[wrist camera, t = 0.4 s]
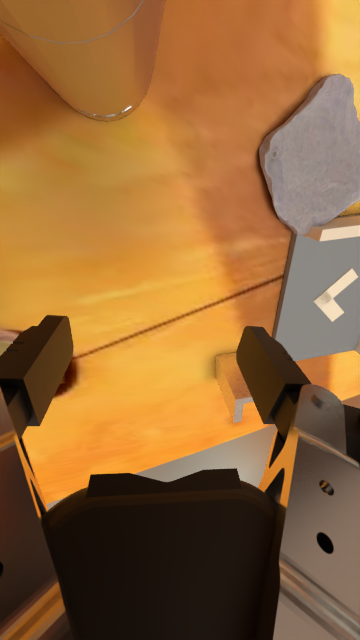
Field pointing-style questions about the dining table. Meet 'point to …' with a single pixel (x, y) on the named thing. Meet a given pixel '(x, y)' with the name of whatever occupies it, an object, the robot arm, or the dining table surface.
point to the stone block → (315, 157)
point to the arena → (321, 291)
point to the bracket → (232, 385)
